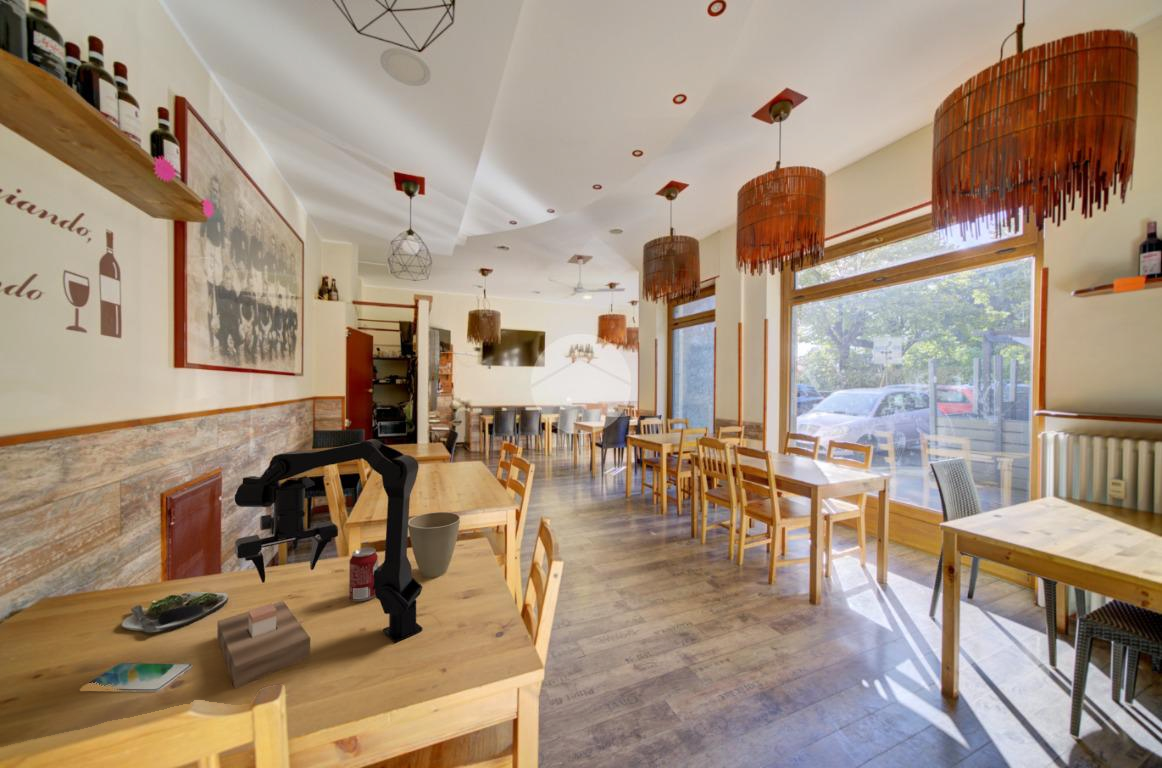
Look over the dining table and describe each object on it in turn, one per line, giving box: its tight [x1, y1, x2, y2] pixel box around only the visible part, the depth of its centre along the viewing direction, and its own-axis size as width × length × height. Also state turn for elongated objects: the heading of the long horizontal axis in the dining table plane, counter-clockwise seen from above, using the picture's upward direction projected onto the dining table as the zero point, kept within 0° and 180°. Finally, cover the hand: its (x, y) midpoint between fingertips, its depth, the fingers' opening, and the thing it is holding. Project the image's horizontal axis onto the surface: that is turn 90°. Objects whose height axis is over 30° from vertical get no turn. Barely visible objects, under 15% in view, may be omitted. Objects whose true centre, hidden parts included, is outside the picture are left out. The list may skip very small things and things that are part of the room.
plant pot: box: [408, 511, 461, 578], centre depth 125 cm, size 15×15×16 cm
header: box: [216, 600, 311, 689], centre depth 89 cm, size 22×12×4 cm, turn 48°
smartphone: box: [88, 662, 193, 693], centre depth 79 cm, size 7×1×15 cm
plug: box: [247, 603, 277, 638], centre depth 89 cm, size 4×4×8 cm
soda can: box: [348, 547, 379, 602], centre depth 110 cm, size 7×7×12 cm
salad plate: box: [121, 591, 229, 634], centre depth 101 cm, size 19×18×5 cm
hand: (288, 575), depth 95 cm, fingers open, 9 cm apart
